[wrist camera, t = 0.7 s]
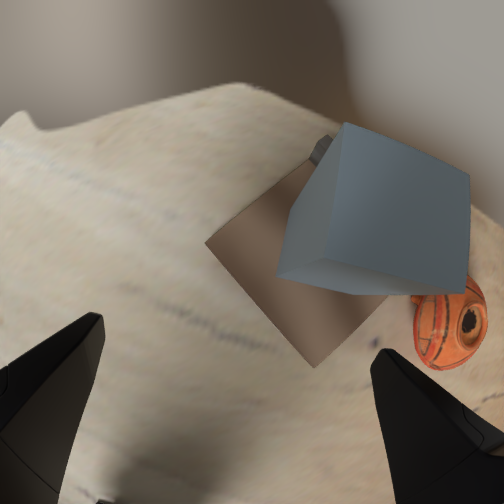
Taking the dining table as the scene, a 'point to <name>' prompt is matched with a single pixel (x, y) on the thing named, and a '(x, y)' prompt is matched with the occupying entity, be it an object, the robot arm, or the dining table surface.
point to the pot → (449, 326)
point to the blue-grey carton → (379, 221)
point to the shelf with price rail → (281, 290)
